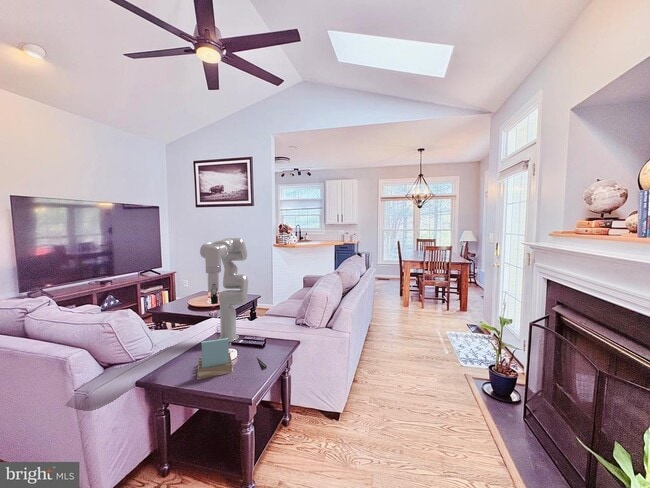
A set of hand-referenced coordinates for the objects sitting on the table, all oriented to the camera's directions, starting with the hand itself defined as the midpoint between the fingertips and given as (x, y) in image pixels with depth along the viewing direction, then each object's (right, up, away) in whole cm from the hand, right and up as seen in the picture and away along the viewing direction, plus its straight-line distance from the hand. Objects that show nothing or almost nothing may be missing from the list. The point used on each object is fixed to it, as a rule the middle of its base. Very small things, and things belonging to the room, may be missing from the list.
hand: (214, 301), depth 146 cm
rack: (+4, -33, -8) cm, 34 cm away
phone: (+22, -33, -2) cm, 40 cm away
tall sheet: (+6, -32, -13) cm, 35 cm away
